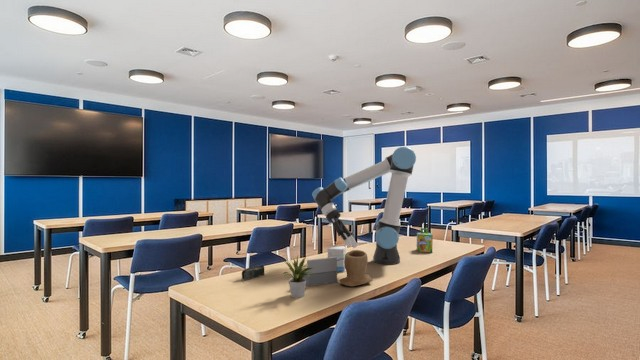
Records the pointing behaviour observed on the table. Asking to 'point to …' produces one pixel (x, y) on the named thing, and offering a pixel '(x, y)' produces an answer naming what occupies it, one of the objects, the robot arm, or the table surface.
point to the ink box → (338, 256)
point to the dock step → (321, 271)
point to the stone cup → (355, 268)
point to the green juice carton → (424, 241)
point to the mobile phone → (252, 272)
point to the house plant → (297, 278)
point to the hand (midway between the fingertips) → (352, 246)
